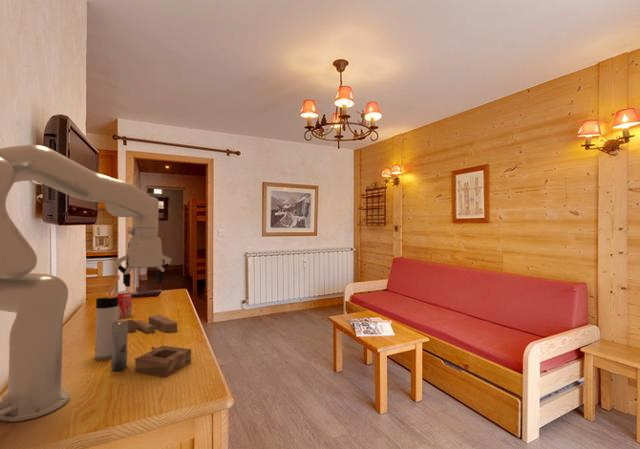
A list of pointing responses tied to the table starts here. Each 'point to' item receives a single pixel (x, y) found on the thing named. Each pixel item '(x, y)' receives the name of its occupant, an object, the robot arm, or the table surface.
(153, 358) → the brown hollow tray
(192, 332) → the table surface
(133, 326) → the wooden block set
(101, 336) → the travel mug
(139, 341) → the table surface
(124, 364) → the round metal rod
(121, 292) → the soda can
